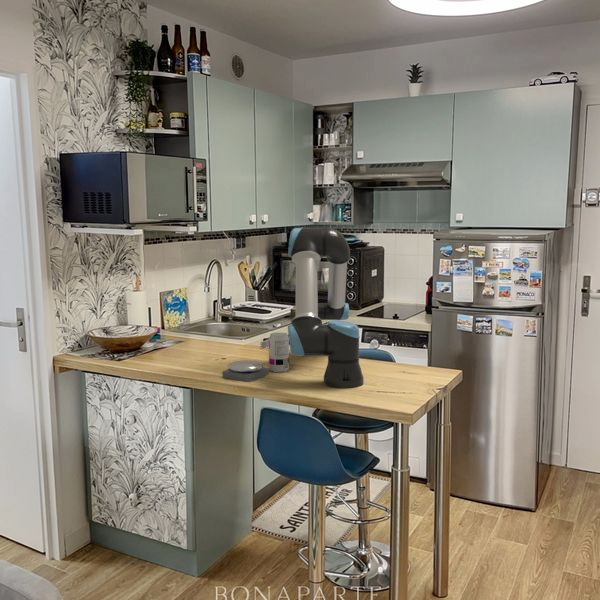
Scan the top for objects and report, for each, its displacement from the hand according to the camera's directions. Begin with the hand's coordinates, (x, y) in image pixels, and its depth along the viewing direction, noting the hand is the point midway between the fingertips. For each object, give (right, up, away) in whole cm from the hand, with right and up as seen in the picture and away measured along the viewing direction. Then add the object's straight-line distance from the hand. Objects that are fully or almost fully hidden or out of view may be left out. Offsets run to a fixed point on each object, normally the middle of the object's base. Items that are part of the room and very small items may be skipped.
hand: (276, 347), depth 258 cm
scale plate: (-12, -10, -6) cm, 17 cm away
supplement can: (+1, -10, +3) cm, 11 cm away
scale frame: (-12, -11, -6) cm, 17 cm away
